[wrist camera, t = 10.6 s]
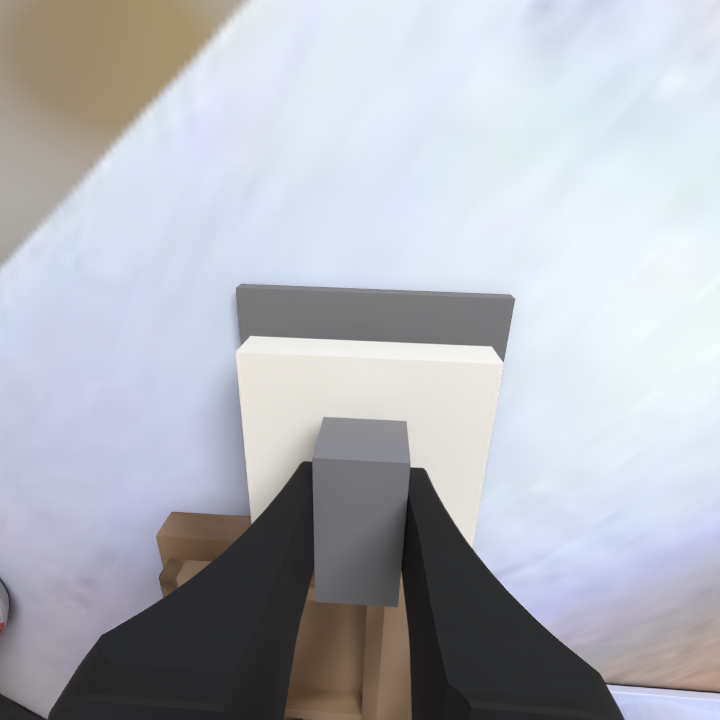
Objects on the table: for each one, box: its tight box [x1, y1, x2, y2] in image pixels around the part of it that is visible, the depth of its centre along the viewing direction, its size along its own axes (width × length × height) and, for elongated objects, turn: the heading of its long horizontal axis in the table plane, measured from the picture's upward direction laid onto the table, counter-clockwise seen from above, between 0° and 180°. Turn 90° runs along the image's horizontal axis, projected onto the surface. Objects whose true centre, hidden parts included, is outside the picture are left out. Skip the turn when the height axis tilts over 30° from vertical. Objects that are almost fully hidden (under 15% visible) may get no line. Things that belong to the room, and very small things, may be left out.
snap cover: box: [235, 336, 504, 608], centre depth 13 cm, size 8×8×4 cm
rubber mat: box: [236, 284, 515, 363], centre depth 17 cm, size 10×10×1 cm
